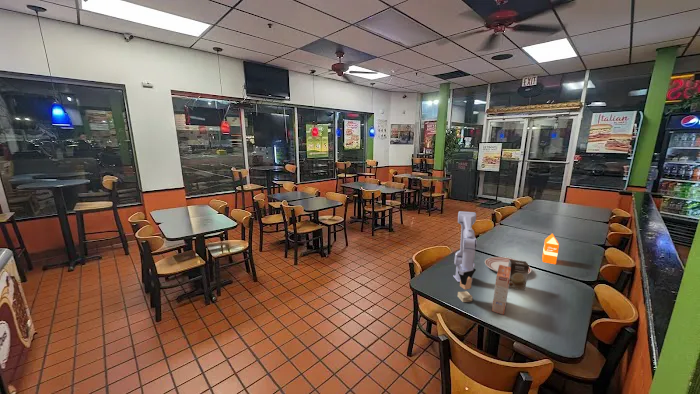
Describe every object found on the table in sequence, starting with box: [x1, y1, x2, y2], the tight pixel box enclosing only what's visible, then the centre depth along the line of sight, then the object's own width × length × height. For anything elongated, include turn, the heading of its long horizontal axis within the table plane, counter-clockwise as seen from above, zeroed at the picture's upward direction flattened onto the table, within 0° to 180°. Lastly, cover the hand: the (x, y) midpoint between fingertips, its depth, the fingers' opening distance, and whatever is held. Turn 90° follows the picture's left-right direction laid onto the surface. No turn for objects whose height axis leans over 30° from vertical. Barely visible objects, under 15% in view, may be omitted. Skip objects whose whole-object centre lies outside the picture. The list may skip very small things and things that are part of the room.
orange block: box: [459, 276, 473, 291], centre depth 147 cm, size 4×4×6 cm
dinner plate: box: [484, 256, 532, 275], centre depth 182 cm, size 28×27×3 cm
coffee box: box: [508, 258, 530, 291], centre depth 158 cm, size 9×6×16 cm
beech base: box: [457, 290, 473, 303], centre depth 148 cm, size 6×6×3 cm
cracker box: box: [491, 265, 511, 316], centre depth 139 cm, size 14×6×21 cm, turn 146°
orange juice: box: [541, 233, 560, 265], centre depth 192 cm, size 8×9×20 cm
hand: (465, 282), depth 147 cm, fingers closed on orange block, 5 cm apart
